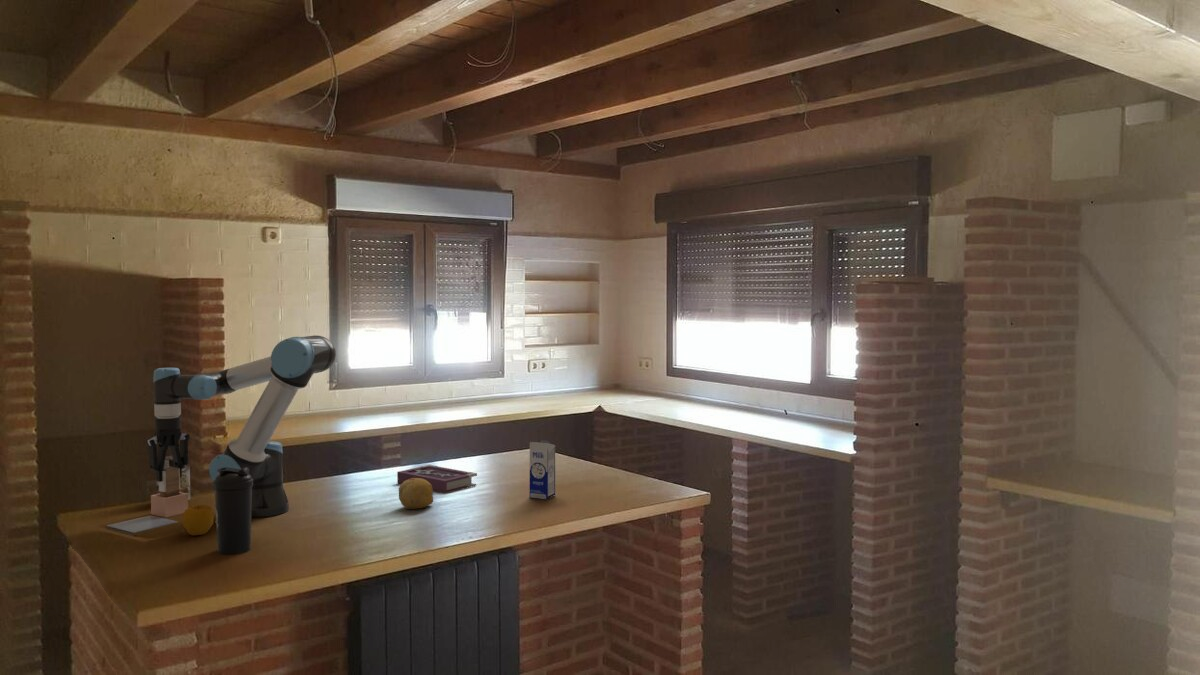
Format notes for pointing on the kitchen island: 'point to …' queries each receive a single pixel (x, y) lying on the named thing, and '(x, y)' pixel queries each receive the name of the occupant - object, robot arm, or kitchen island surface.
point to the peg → (171, 482)
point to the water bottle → (233, 510)
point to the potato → (416, 493)
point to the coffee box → (184, 479)
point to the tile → (141, 524)
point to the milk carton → (542, 469)
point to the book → (439, 477)
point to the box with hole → (169, 505)
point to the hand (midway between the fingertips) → (169, 489)
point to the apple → (198, 519)
